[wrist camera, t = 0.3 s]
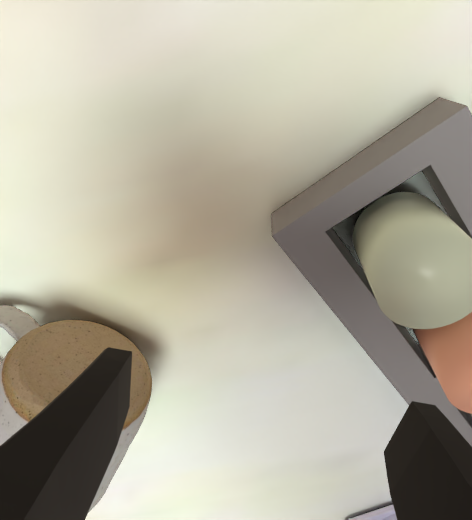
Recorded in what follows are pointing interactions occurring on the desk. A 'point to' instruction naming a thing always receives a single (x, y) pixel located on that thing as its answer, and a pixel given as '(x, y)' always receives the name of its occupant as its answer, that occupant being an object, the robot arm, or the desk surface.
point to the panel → (343, 263)
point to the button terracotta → (451, 359)
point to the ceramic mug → (62, 374)
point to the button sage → (415, 261)
